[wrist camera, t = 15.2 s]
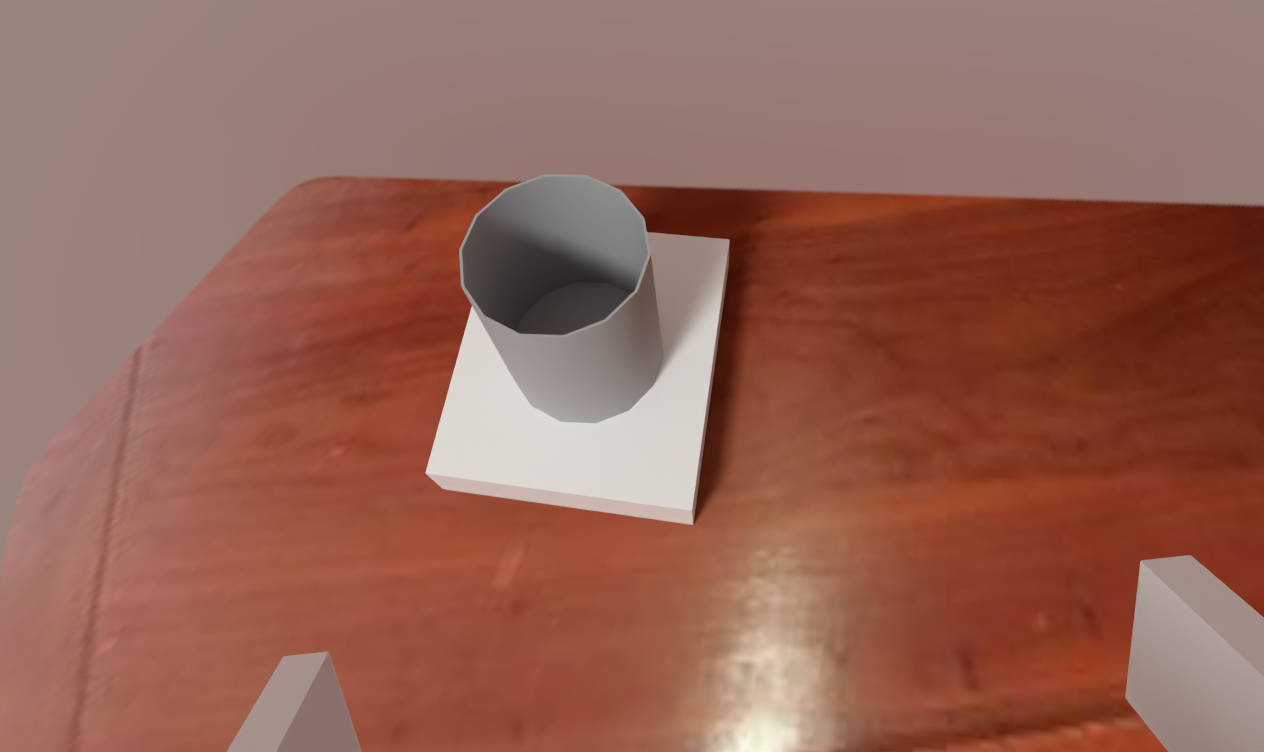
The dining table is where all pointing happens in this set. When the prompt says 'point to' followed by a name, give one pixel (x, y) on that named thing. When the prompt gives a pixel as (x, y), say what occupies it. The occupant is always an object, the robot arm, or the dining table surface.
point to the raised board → (611, 449)
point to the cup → (567, 294)
